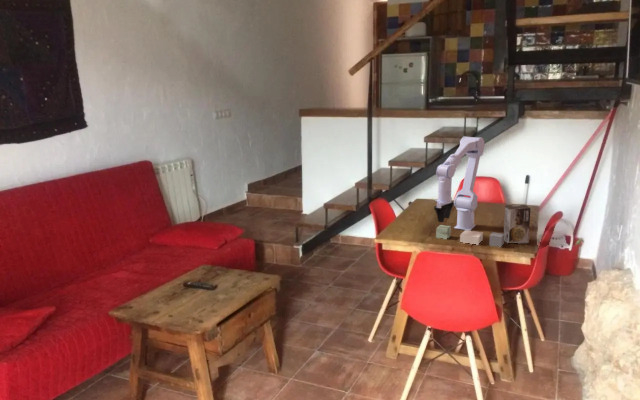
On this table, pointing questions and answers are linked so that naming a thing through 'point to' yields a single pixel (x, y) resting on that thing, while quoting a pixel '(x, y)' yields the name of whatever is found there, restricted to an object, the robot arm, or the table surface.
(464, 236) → the cream base block
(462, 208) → the robot arm
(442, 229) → the green cube
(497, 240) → the grey cube
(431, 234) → the table surface
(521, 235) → the coffee box
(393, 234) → the table surface
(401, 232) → the table surface
